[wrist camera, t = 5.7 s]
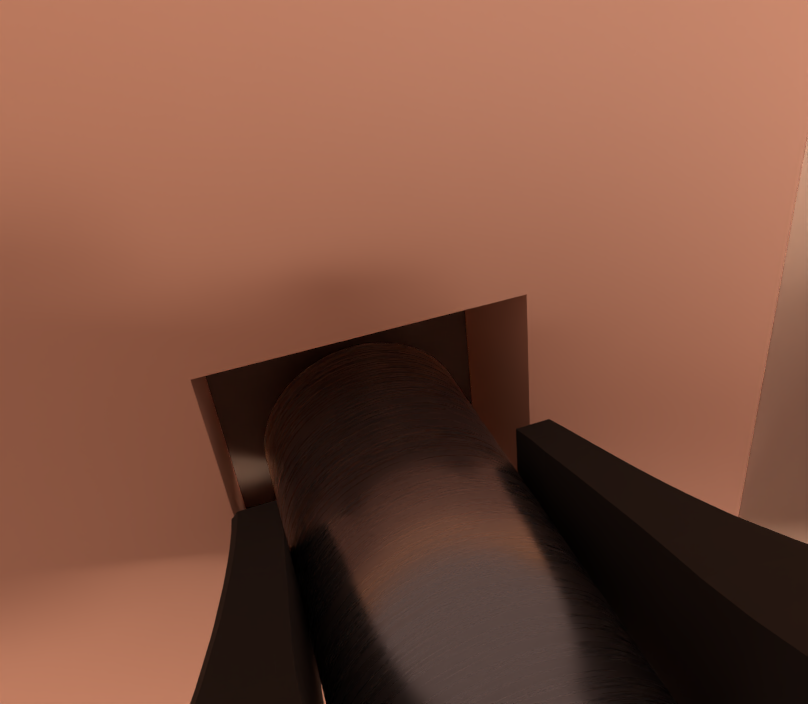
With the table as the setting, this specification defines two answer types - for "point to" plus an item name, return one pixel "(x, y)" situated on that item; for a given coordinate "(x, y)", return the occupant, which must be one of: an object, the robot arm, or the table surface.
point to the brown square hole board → (358, 262)
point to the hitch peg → (432, 549)
